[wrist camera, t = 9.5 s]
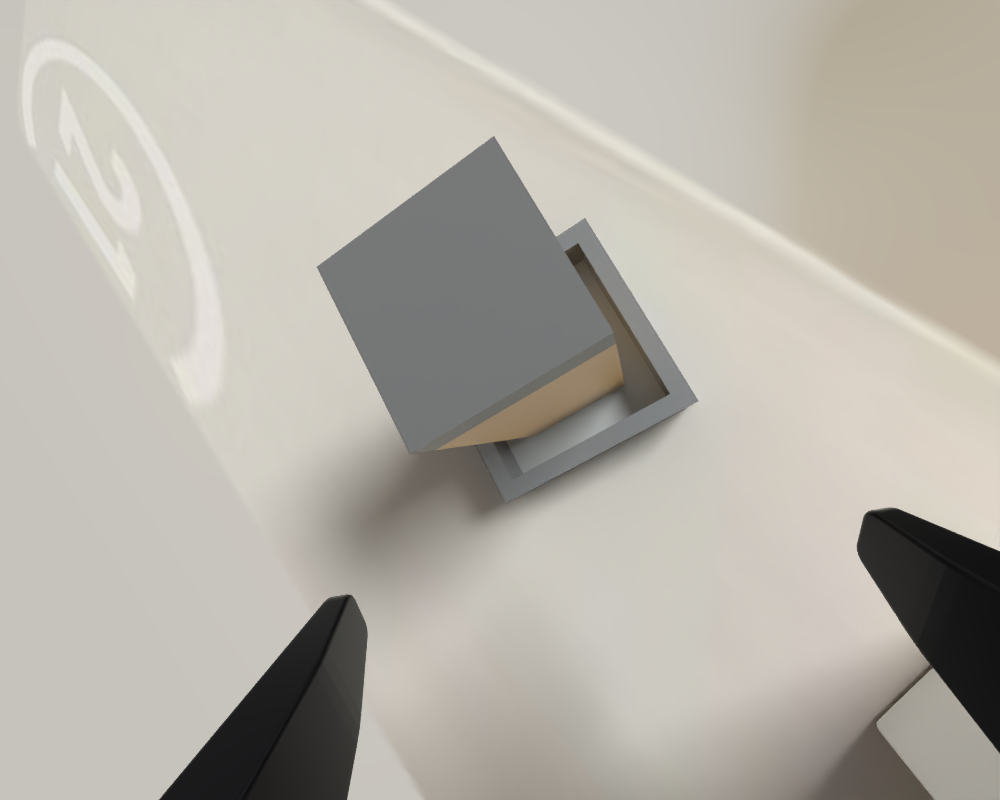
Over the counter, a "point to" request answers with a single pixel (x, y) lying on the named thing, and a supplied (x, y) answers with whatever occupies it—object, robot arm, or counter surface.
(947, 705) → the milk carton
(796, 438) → the counter surface
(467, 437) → the plug
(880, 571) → the robot arm
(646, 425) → the socket collar
